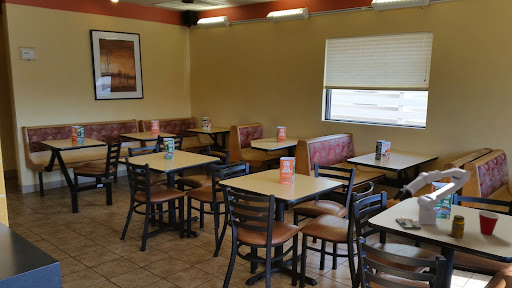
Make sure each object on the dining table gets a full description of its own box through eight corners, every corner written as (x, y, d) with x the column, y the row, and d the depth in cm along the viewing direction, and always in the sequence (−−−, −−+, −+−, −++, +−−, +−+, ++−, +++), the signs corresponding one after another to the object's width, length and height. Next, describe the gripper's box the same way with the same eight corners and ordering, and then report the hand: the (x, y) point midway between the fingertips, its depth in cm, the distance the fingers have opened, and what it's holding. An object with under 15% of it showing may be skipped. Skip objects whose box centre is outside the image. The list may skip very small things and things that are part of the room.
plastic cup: (497, 238, 218) (500, 218, 216) (475, 234, 224) (477, 214, 222) (497, 232, 228) (500, 212, 226) (476, 228, 233) (478, 209, 231)
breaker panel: (411, 220, 244) (412, 218, 243) (421, 229, 230) (421, 226, 230) (395, 220, 244) (395, 218, 243) (403, 229, 230) (404, 226, 230)
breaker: (414, 223, 234) (415, 219, 233) (416, 225, 231) (417, 220, 230) (411, 223, 234) (411, 218, 233) (413, 225, 231) (413, 220, 230)
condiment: (466, 239, 217) (468, 218, 215) (452, 239, 216) (454, 219, 214) (458, 234, 224) (460, 214, 222) (444, 234, 223) (446, 214, 221)
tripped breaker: (404, 220, 238) (404, 216, 237) (405, 222, 235) (406, 218, 234) (400, 220, 238) (401, 216, 237) (402, 222, 235) (402, 218, 234)
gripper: (404, 180, 242) (387, 193, 241) (416, 181, 228) (398, 194, 226) (410, 190, 242) (393, 202, 241) (423, 191, 228) (405, 205, 226)
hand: (396, 199), depth 233 cm, fingers open, 7 cm apart
